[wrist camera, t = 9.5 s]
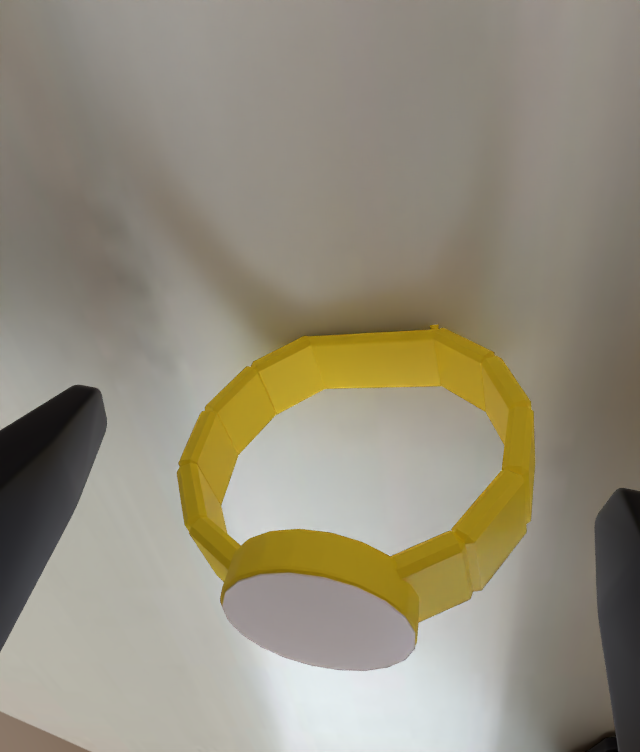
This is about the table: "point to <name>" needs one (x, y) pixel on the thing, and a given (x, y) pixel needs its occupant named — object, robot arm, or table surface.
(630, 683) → the robot arm
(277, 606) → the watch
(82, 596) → the table surface
